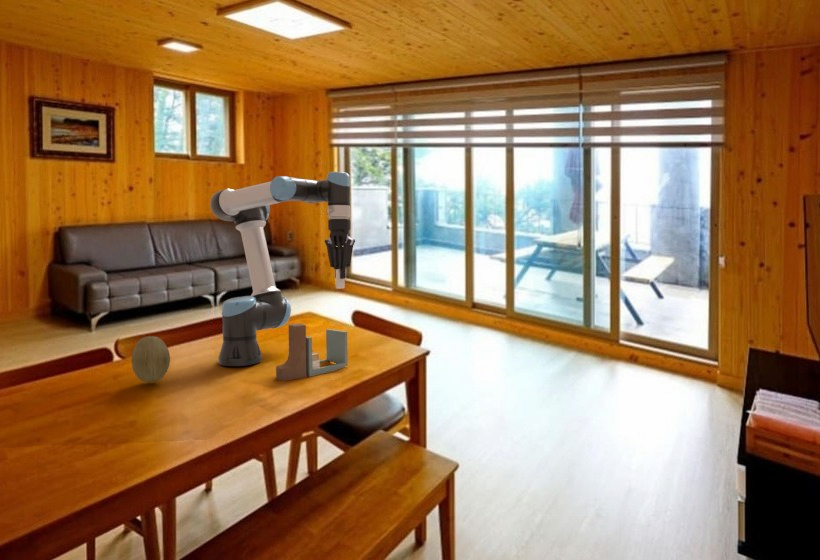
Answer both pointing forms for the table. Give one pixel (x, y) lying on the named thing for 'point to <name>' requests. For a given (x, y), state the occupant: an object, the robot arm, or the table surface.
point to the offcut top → (315, 356)
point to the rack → (329, 352)
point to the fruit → (150, 359)
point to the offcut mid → (315, 364)
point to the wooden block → (294, 355)
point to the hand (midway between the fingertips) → (340, 288)
